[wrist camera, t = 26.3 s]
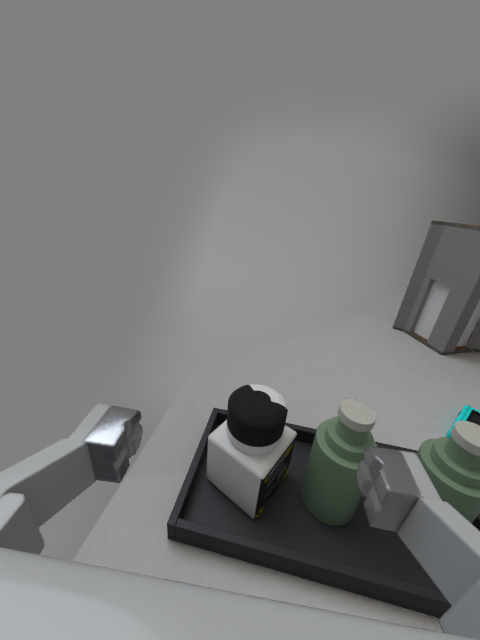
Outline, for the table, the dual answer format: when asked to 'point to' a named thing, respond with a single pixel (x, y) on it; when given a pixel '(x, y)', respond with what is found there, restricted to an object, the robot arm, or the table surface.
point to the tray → (302, 534)
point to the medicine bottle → (251, 448)
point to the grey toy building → (445, 290)
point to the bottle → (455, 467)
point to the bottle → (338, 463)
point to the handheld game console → (467, 417)
